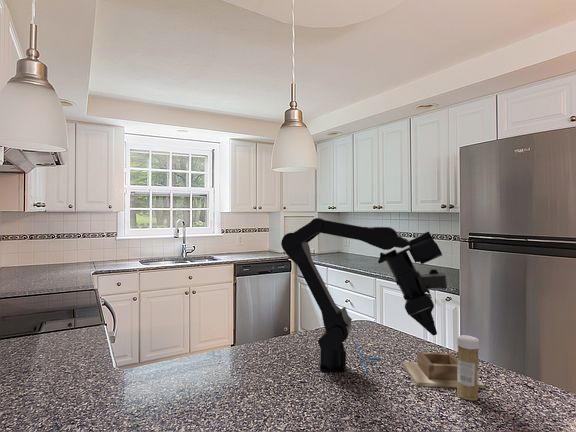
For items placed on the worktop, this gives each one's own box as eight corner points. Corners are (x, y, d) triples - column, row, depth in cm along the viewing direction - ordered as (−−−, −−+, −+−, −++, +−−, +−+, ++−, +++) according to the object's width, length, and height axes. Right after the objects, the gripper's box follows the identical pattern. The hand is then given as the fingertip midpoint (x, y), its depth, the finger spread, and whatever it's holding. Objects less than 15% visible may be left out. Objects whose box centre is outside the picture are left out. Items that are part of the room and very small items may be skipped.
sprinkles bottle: (482, 398, 83) (483, 339, 83) (471, 403, 80) (472, 342, 80) (463, 390, 87) (464, 333, 87) (452, 394, 84) (453, 336, 84)
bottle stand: (417, 385, 88) (417, 368, 88) (402, 364, 101) (402, 349, 101) (484, 388, 88) (484, 370, 88) (460, 366, 101) (461, 351, 101)
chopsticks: (371, 339, 119) (355, 339, 119) (387, 371, 94) (367, 371, 94) (371, 344, 118) (355, 344, 119) (388, 377, 94) (367, 377, 94)
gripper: (437, 262, 82) (472, 327, 80) (432, 255, 100) (460, 308, 97) (391, 282, 85) (423, 345, 83) (394, 272, 103) (420, 323, 100)
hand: (433, 329), depth 91 cm, fingers open, 9 cm apart
